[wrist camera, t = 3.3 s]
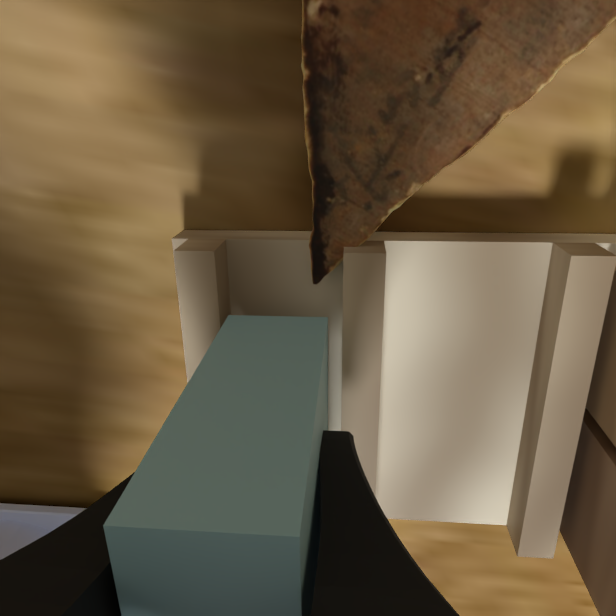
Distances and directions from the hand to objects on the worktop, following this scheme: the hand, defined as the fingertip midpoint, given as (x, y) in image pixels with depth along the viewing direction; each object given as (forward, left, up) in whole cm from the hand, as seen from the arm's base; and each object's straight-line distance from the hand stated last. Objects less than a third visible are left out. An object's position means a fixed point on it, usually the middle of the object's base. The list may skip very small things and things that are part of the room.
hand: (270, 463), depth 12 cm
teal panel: (0, -1, -2) cm, 2 cm away
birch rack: (+5, 0, -4) cm, 6 cm away
